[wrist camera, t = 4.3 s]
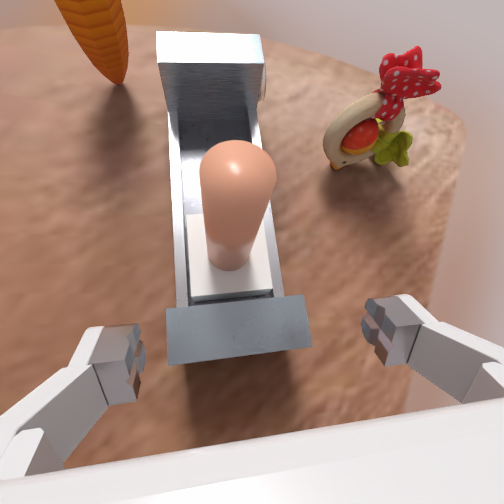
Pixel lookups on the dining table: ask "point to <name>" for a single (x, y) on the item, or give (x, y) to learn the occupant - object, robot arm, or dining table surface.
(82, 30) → the carrot
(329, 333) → the dining table surface
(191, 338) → the rail track
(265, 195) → the carriage
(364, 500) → the robot arm
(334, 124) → the decorative toy figure
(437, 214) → the dining table surface
